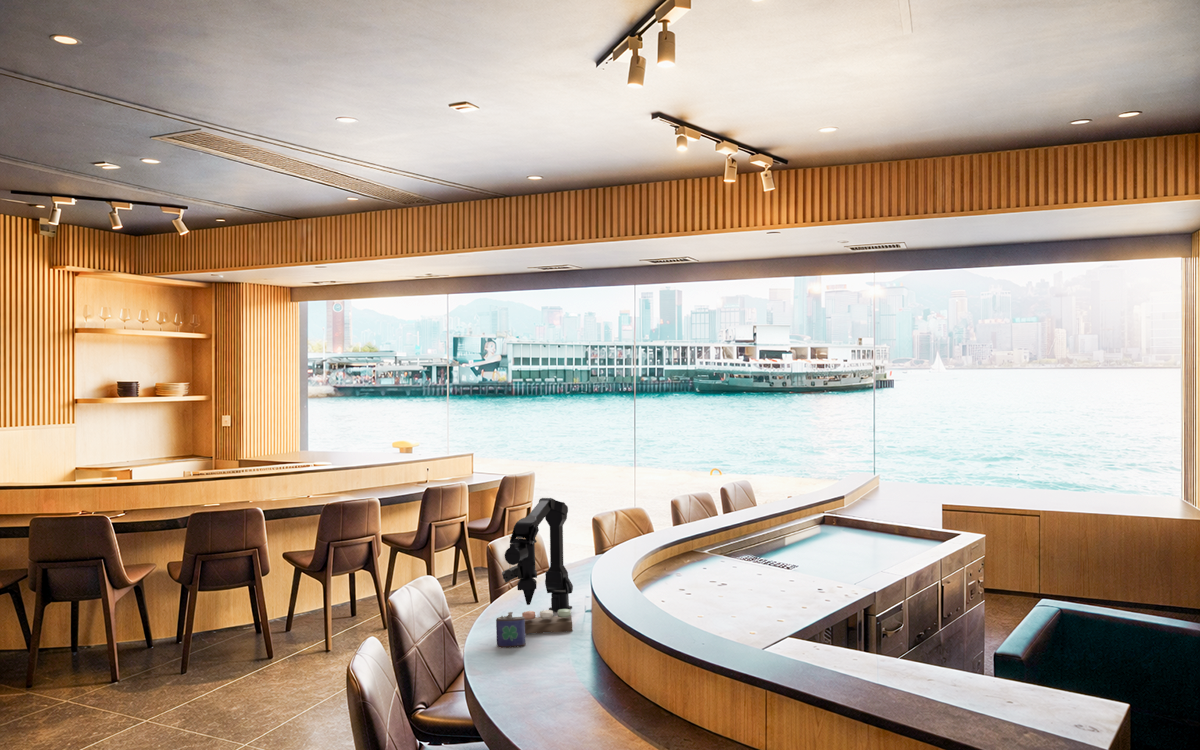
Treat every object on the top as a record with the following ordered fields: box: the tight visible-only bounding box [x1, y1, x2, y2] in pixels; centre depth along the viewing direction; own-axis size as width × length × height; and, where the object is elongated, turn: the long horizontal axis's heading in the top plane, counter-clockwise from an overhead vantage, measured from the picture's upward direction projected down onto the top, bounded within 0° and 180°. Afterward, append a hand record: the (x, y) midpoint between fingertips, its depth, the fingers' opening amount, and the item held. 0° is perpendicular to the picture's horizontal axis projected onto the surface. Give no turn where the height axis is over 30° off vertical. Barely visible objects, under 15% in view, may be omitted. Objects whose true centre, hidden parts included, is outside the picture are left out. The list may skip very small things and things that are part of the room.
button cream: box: [539, 609, 554, 619], centre depth 244 cm, size 4×4×2 cm
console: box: [525, 615, 573, 635], centre depth 244 cm, size 17×8×3 cm, turn 94°
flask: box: [495, 611, 526, 649], centre depth 228 cm, size 9×3×11 cm, turn 87°
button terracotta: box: [521, 610, 536, 620], centre depth 244 cm, size 4×4×2 cm
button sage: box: [557, 608, 572, 617], centre depth 245 cm, size 4×4×2 cm
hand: (528, 604), depth 244 cm, fingers closed
